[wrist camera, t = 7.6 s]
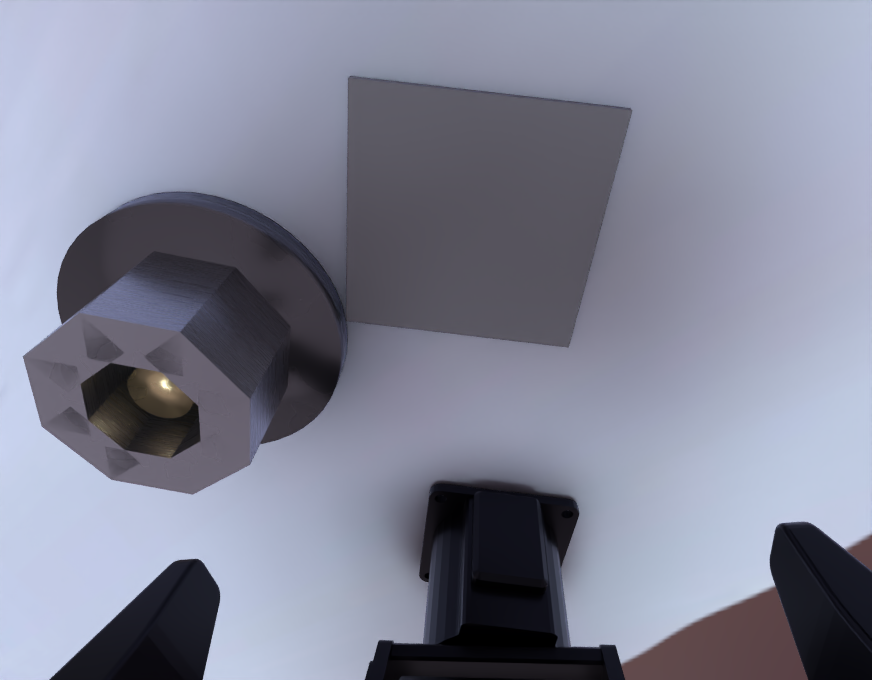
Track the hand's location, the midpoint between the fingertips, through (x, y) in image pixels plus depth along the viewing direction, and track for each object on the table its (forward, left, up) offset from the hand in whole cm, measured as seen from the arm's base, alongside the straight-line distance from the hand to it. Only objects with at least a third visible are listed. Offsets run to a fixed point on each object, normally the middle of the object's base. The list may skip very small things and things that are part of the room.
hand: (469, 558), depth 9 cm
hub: (-4, +9, -12) cm, 16 cm away
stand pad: (+1, 0, -12) cm, 12 cm away
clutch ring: (-4, +9, -10) cm, 15 cm away
